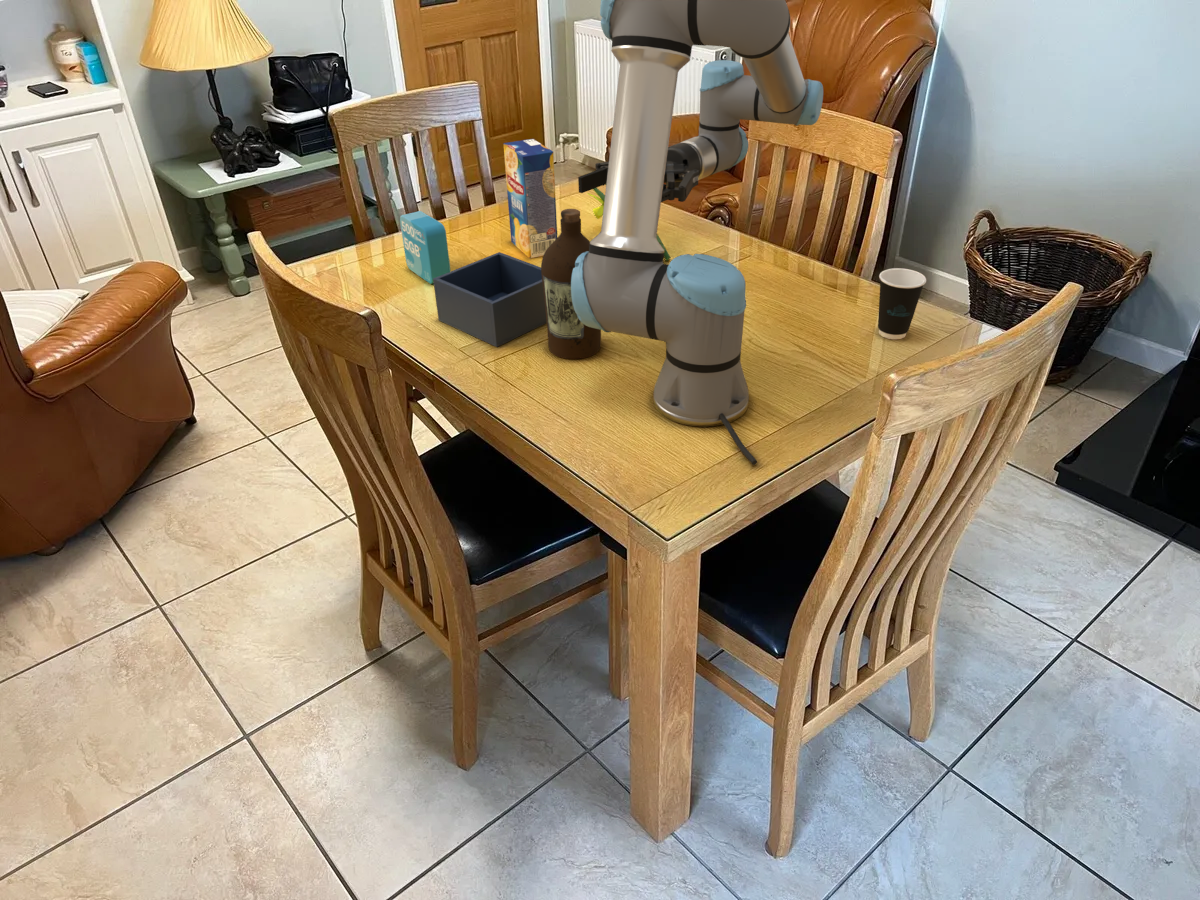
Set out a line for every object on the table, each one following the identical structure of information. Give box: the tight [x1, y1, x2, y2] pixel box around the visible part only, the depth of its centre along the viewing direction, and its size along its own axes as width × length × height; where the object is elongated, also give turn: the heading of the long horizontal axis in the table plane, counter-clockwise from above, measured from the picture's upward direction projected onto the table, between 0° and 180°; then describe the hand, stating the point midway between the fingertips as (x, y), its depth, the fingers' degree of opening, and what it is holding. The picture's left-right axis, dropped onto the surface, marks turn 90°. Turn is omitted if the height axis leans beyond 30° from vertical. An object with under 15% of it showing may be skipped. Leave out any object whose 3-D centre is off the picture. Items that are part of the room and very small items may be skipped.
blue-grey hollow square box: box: [433, 251, 547, 348], centre depth 168 cm, size 17×17×9 cm
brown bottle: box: [540, 208, 602, 360], centre depth 153 cm, size 11×11×25 cm
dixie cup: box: [877, 267, 927, 340], centre depth 159 cm, size 8×8×11 cm
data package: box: [399, 210, 452, 285], centre depth 184 cm, size 12×4×12 cm, turn 36°
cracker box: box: [502, 138, 558, 259], centre depth 193 cm, size 7×11×22 cm, turn 26°
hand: (608, 193), depth 151 cm, fingers open, 13 cm apart
